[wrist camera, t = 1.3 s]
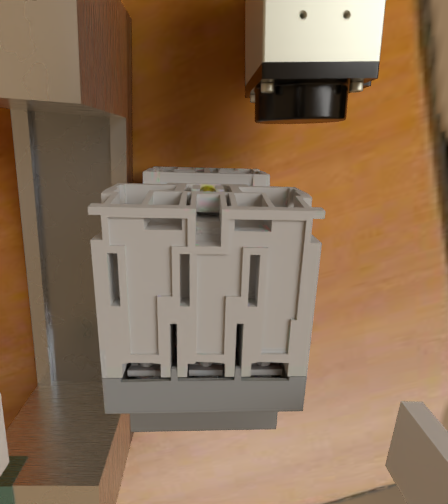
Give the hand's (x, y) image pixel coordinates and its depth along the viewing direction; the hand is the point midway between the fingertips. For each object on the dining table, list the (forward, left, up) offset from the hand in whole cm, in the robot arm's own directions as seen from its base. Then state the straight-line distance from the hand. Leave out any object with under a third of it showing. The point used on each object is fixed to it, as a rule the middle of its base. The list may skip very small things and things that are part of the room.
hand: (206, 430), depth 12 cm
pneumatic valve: (-16, +4, -17) cm, 24 cm away
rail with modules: (0, -9, -17) cm, 19 cm away
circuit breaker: (0, 0, -17) cm, 17 cm away
